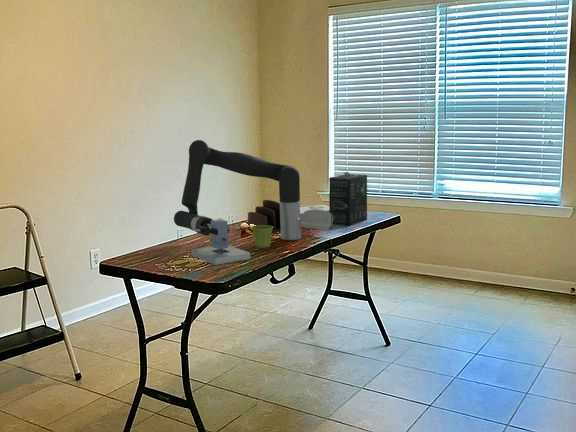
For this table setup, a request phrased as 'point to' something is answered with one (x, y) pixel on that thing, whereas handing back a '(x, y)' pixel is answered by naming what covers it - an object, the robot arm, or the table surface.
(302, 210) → the white rounded slab
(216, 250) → the plate
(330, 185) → the headset box
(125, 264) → the table surface
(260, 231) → the plant pot
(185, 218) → the robot arm
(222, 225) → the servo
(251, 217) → the letter holder
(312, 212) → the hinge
